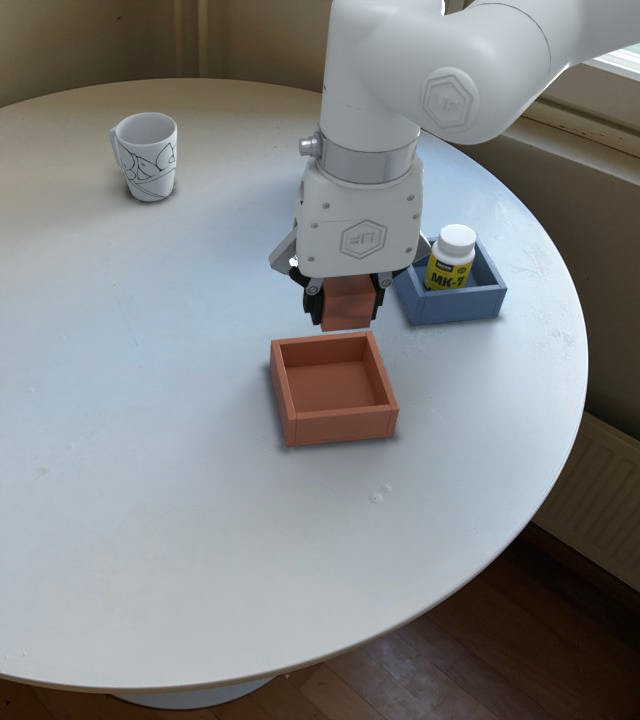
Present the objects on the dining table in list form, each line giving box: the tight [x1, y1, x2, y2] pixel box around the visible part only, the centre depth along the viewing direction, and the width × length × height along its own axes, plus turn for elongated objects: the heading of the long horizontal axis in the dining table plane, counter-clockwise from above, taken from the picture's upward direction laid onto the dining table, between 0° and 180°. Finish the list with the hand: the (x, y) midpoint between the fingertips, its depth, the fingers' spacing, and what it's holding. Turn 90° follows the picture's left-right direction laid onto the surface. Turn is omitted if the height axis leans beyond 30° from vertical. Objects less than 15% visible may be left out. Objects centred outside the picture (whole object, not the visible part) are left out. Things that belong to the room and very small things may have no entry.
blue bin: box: [393, 232, 509, 326], centre depth 92 cm, size 10×10×5 cm
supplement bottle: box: [423, 223, 476, 292], centre depth 90 cm, size 5×5×8 cm
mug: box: [108, 111, 178, 203], centre depth 109 cm, size 11×8×10 cm
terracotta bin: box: [269, 330, 401, 448], centre depth 82 cm, size 11×11×5 cm
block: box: [319, 274, 376, 333], centre depth 72 cm, size 4×4×4 cm
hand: (341, 311), depth 73 cm, fingers closed on block, 4 cm apart
